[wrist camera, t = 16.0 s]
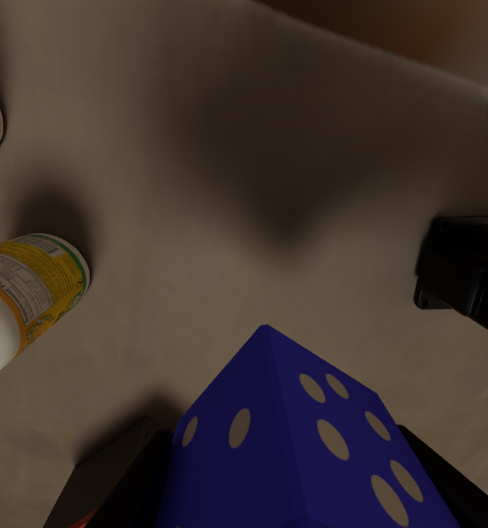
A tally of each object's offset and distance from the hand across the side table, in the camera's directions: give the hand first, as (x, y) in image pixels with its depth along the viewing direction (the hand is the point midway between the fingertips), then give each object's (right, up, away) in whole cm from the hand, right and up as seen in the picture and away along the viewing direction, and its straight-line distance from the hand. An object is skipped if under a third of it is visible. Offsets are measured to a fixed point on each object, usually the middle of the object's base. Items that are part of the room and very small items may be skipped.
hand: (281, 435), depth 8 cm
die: (0, +1, +1) cm, 1 cm away
